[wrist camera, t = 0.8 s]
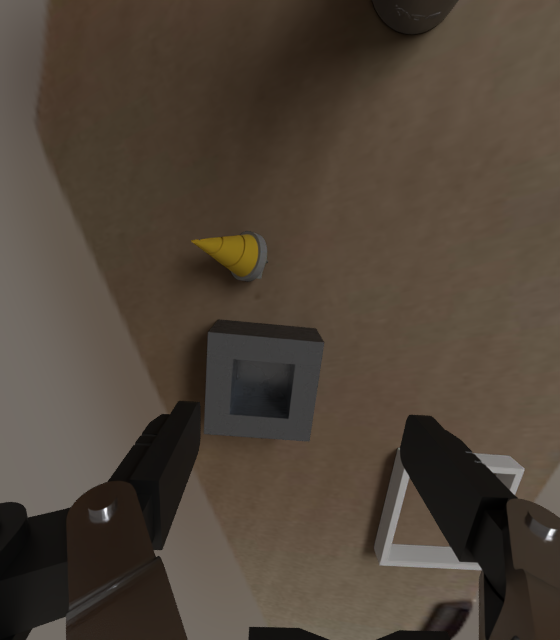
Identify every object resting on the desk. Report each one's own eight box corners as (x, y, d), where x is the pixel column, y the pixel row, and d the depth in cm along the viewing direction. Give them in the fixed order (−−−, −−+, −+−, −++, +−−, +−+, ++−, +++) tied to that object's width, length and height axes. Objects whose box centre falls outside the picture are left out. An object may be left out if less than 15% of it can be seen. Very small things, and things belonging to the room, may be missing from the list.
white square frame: (397, 447, 39) (406, 460, 36) (509, 455, 40) (524, 468, 37) (373, 547, 43) (379, 565, 41) (474, 552, 44) (485, 570, 42)
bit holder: (218, 319, 34) (208, 332, 28) (316, 328, 34) (324, 342, 29) (213, 407, 37) (203, 433, 31) (304, 414, 37) (309, 441, 32)
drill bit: (255, 290, 33) (179, 277, 26) (251, 250, 34) (176, 227, 27) (288, 276, 30) (210, 256, 22) (281, 232, 31) (204, 200, 23)
